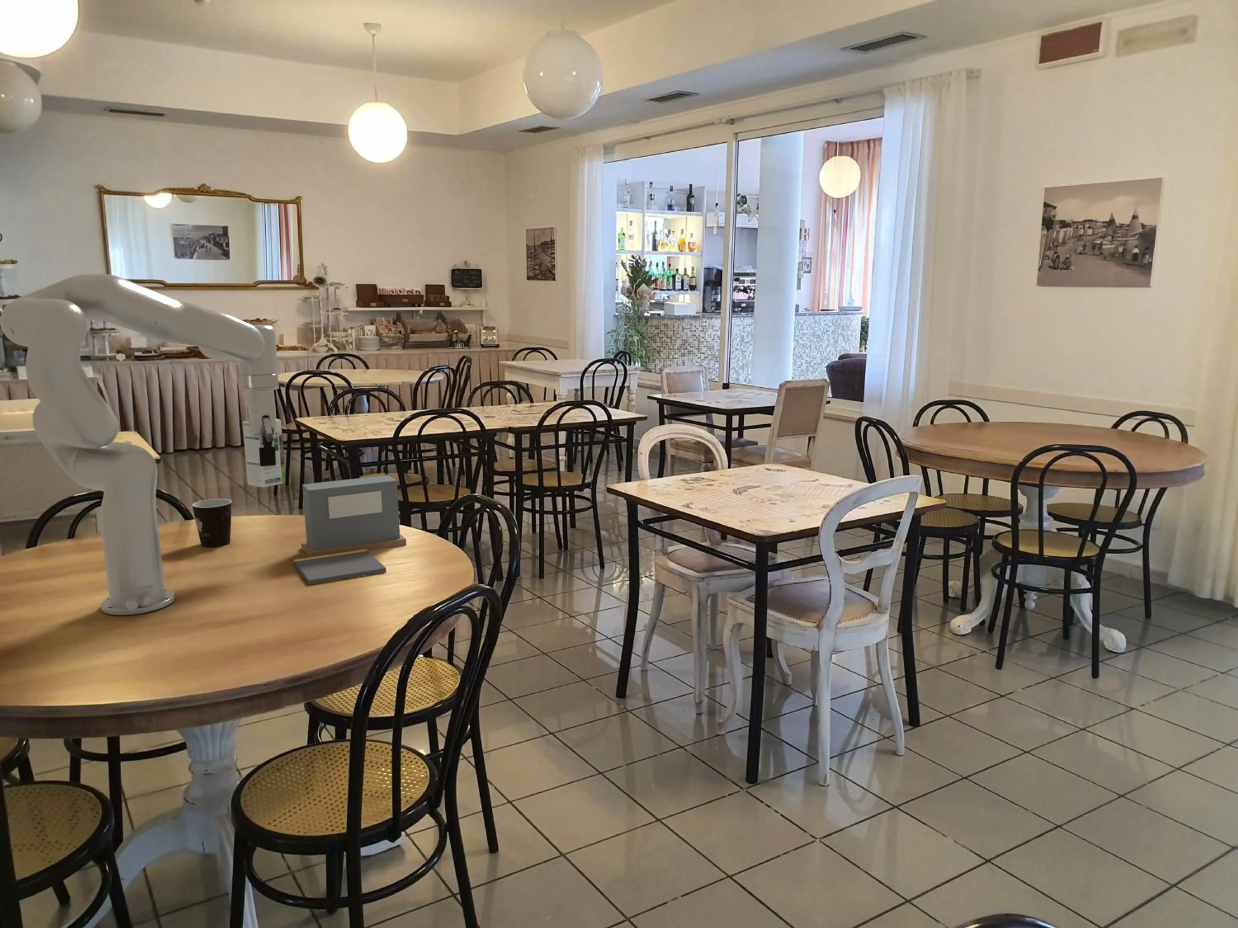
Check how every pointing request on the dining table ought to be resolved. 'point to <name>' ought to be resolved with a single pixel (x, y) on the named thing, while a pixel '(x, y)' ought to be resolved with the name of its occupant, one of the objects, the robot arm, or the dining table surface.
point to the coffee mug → (213, 522)
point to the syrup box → (255, 472)
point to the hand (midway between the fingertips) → (264, 462)
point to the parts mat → (338, 566)
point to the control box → (351, 516)
